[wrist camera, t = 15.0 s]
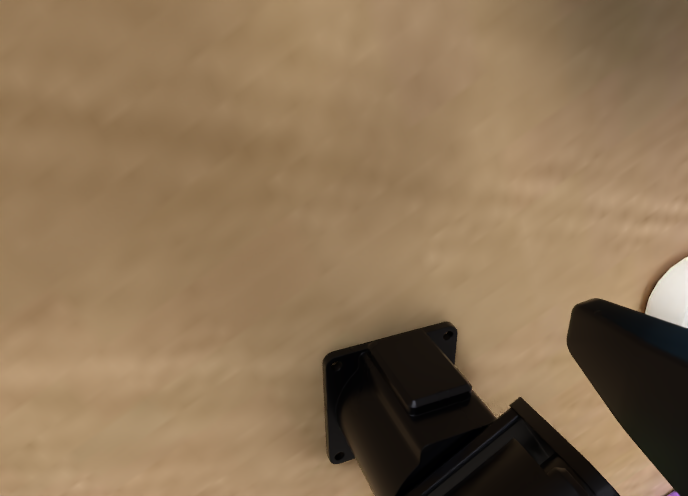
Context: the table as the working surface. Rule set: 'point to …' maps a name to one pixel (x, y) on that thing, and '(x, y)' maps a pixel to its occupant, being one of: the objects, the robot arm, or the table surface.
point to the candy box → (673, 494)
